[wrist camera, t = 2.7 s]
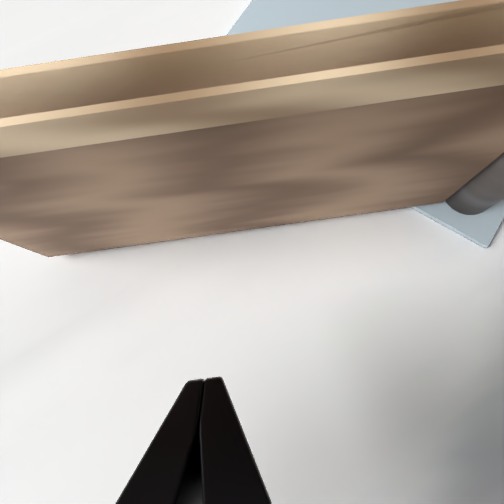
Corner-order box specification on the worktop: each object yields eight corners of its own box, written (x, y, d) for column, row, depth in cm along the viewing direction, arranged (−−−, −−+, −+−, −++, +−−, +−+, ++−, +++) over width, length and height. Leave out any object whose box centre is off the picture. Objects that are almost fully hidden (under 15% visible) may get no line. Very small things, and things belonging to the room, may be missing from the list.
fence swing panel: (436, 178, 19) (643, -28, 8) (443, 206, 19) (666, 28, 8) (47, 233, 20) (-225, 103, 9) (48, 261, 19) (-234, 161, 9)
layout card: (484, 248, 19) (488, 246, 19) (192, 86, 22) (191, 82, 21) (626, -12, 22) (632, -18, 21) (349, -127, 24) (350, -134, 24)
